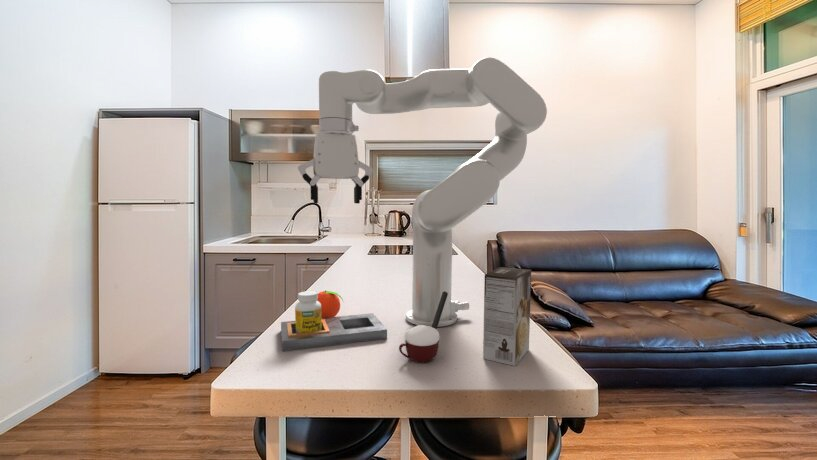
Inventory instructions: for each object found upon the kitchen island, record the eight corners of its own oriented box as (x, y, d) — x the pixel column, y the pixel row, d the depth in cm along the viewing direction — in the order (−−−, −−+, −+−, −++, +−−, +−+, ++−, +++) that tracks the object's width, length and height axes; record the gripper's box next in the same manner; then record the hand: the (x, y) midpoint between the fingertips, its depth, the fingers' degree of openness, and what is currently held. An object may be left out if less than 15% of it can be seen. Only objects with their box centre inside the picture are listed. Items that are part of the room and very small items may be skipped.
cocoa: (399, 367, 68) (396, 302, 66) (399, 352, 74) (397, 292, 72) (452, 365, 68) (451, 300, 66) (448, 350, 74) (446, 290, 72)
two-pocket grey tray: (373, 321, 92) (373, 311, 91) (387, 338, 80) (387, 328, 80) (281, 330, 84) (280, 320, 84) (282, 351, 73) (282, 339, 73)
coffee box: (498, 343, 78) (500, 266, 77) (529, 350, 75) (532, 269, 74) (481, 359, 70) (483, 273, 69) (516, 367, 67) (519, 277, 66)
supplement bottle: (316, 331, 84) (316, 288, 84) (325, 338, 80) (325, 294, 79) (292, 336, 81) (291, 292, 81) (300, 344, 77) (299, 297, 76)
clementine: (348, 316, 96) (348, 288, 95) (338, 325, 89) (338, 295, 88) (318, 314, 97) (318, 286, 96) (306, 322, 90) (306, 293, 90)
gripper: (368, 134, 94) (368, 203, 96) (296, 129, 88) (297, 203, 90) (376, 128, 87) (376, 203, 89) (298, 123, 81) (299, 203, 83)
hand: (336, 203), depth 89 cm, fingers open, 9 cm apart
